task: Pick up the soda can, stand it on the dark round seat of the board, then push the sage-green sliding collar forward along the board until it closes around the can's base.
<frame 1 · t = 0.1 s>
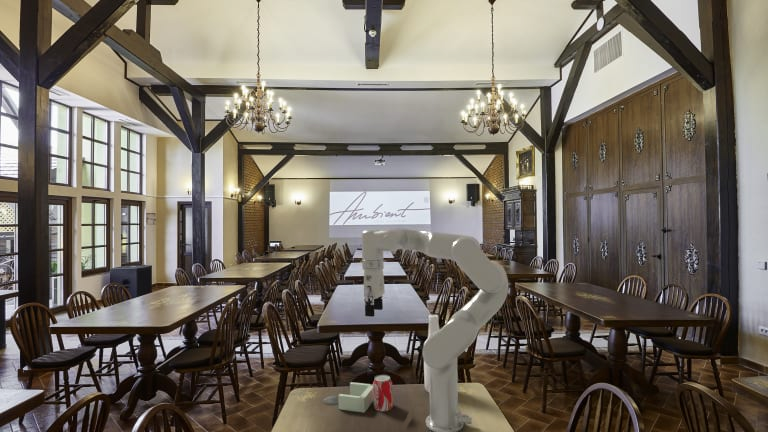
hand: (374, 312, 146), 37 cm above the table, tool pointing down, fingers open, 9 cm apart
soda can: (383, 411, 149), on the table
collar: (357, 396, 152), point 4 cm above the table, slide at 6.0 cm
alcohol: (435, 390, 166), on the table
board: (341, 405, 154), on the table
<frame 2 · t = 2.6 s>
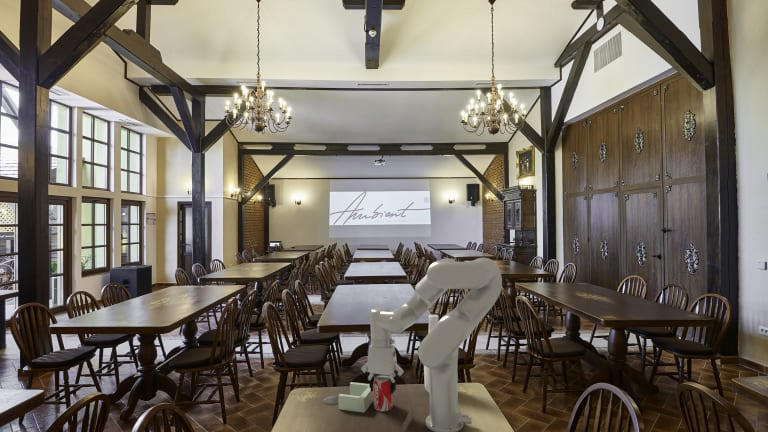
hand: (382, 390, 149), 7 cm above the table, tool pointing down, fingers closed on soda can, 7 cm apart
soda can: (383, 411, 149), on the table, touching gripper
everything else where it was.
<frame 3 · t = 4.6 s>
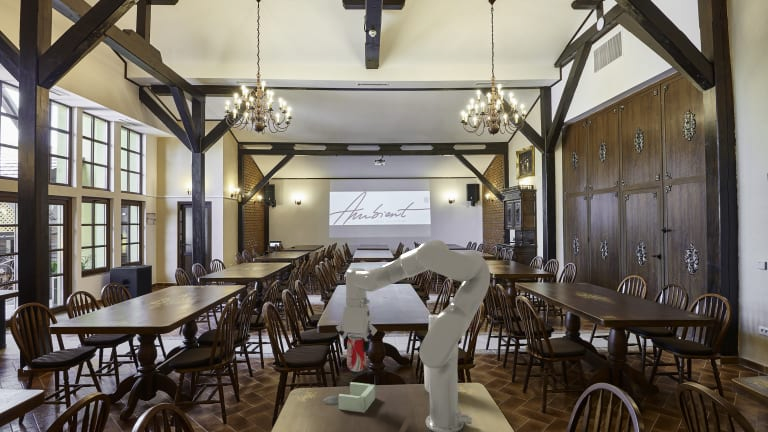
hand: (356, 349, 152), 22 cm above the table, tool pointing down, fingers closed on soda can, 7 cm apart
soda can: (356, 369, 153), point 14 cm above the table, touching gripper
everything else where it was.
when the fingers open (10 cm above the table, at t = 6.9 s): soda can moves 1 cm, resting on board.
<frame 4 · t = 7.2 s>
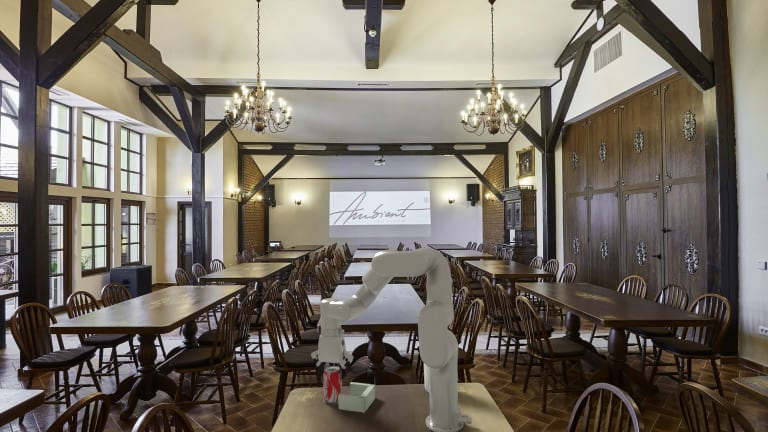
hand: (332, 376, 156), 10 cm above the table, tool pointing down, fingers open, 9 cm apart
soda can: (333, 400, 156), point 1 cm above the table, touching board
everything else where it was.
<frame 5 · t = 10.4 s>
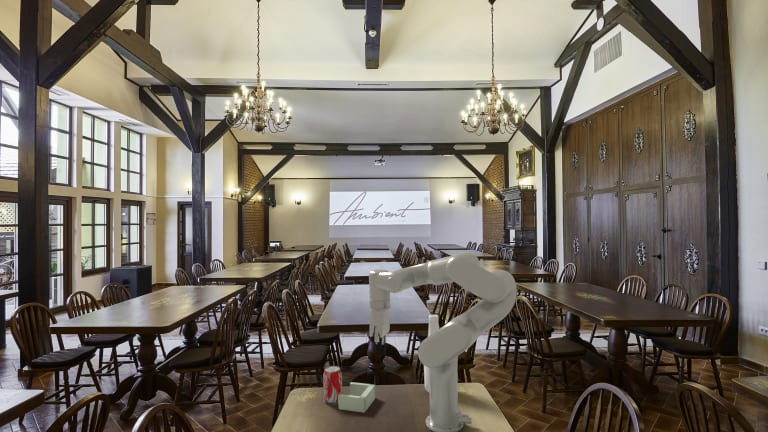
hand: (381, 354, 149), 21 cm above the table, tool pointing down, fingers closed
nothing on the table moved.
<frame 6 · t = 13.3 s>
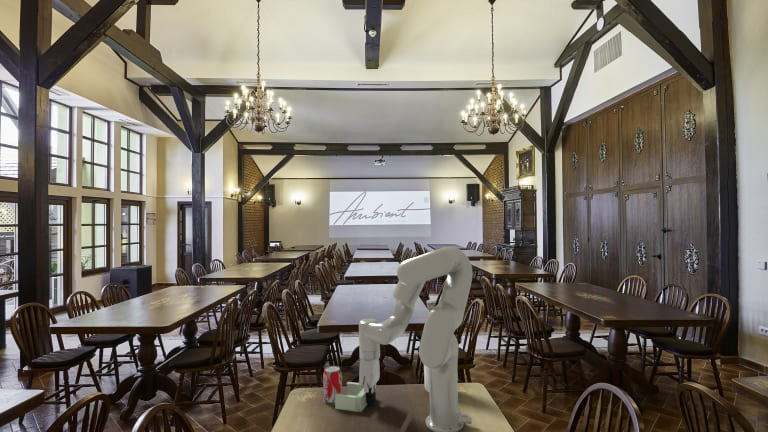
hand: (371, 402, 151), 2 cm above the table, tool pointing down, fingers closed
collar: (354, 396, 153), point 4 cm above the table, slide at 4.7 cm, touching gripper
everything else where it was.
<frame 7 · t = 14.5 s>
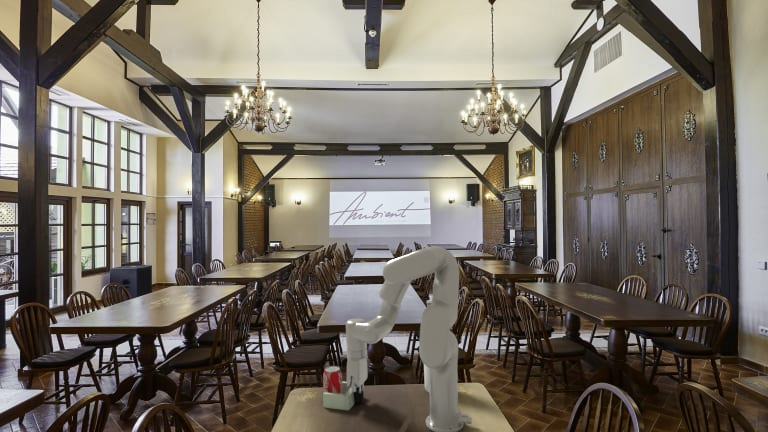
hand: (359, 402, 152), 2 cm above the table, tool pointing down, fingers closed
collar: (342, 394, 154), point 4 cm above the table, slide at -0.1 cm, touching gripper
everything else where it was.
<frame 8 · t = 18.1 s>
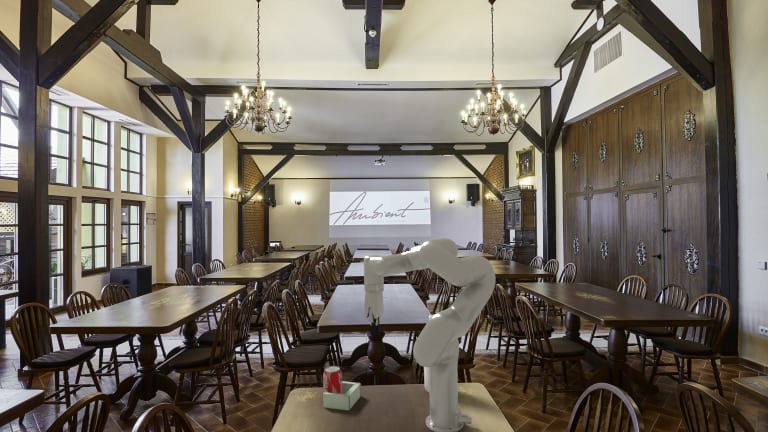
hand: (375, 334, 158), 25 cm above the table, tool pointing down, fingers closed
collar: (342, 394, 154), point 4 cm above the table, slide at 0.0 cm
everything else where it was.
at the end: soda can inside the target area (0.0 cm from its centre), point 1.3 cm above the table; soda can tilted 0°; collar slide at 0.0 cm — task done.
